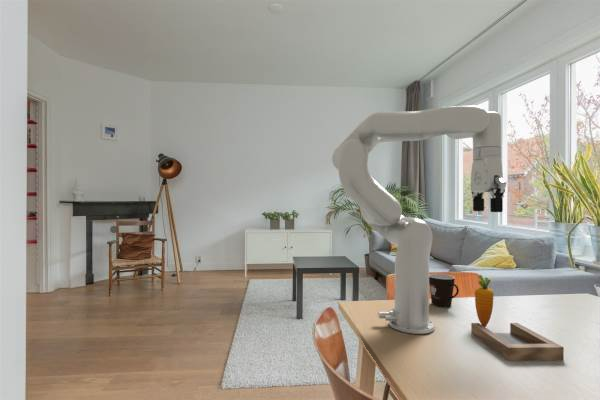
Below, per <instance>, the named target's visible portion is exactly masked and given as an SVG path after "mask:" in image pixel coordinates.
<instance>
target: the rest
mask: <svg viewBox="0 0 600 400" xmlns="http://www.w3.org/2000/svg"><path fill="white" fill-rule="evenodd" d="M470 324H471V325H470V327H471V329H470V330H471V331H470V332H471V333H470V334H471V335H472V336H473V337H475V338H476V339H477V340H479V341H480V342H481V343H483V344H484V345H486V346H487V347H489V348H490V349H491V350H493V352H496V353H497V354H498V355H500V356H501V357H502V358H504V359H505V360H507V361H508V362H511V361H512V362H515V361H516V362H520V361H522V362H523V361H526V362H527V361H530V362H531V361H532V362H533V361H564V359H565V358H564V354H565V353H564V346H562V345H560V344H558V343H556V342H555V341H553V340H550V339H549V338H547V337H545V336H543V335H541V334H539V333H537V332H535V331H534V330H532V329H530V328H528V327H526V326H524V325H522V324H521V323H518V322H510V323H509V324H510V327H509V328H510V329H509V330H510V331H509V332H493V331H492V330H490V329H489V328H487V327H484V326H482V325H481V323H480V322H471V323H470Z"/></svg>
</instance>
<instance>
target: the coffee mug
mask: <svg viewBox="0 0 600 400" xmlns="http://www.w3.org/2000/svg"><path fill="white" fill-rule="evenodd" d="M455 278H456V277H455V276H453V275H449V274H443V273H432V274H431V273H429V294H430V300H431V305H432V306H434V307H437V308H451V307H452V302H453V299H454V298H456V297H457V296H458V295H459V292H460V291H459V287H458V285H457V284H455V280H456V279H455ZM454 287H455V289H456V292H455V294H453V293H454Z"/></svg>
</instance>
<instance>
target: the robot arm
mask: <svg viewBox="0 0 600 400" xmlns="http://www.w3.org/2000/svg"><path fill="white" fill-rule="evenodd" d="M444 135H445V136H447V137H449V138H451V139H455V140H461V139H469V138H472V165H471V173H470V191H471V194H472V197H471V198H472V211H473V212H484V211H485V198H484V195H485V194H486V193H489V195H490V199H489V200H490V201H489V204H490V206H489V207H490V212H491V213H503V211H504V209H503V207H504V206H503V204H504V203H503V199H504V198H505V195H504V194H505V193H506V186H507V182H506V181H505V180H504V176H503V163H502V116H501V114H500V113H499V112H496V111H487V110H486V109H485V108H483V107H481V106H479V105H458V106H457V105H456V106H445V107H438V108H431V109H423V110H414V111H413V110H411V111H410V110H409V111H408V110H407V111H381V112H380V111H379V112H374V113H372V114H370V115H369V116H368V117H366V118H364V119H363V120H362V121H361V122H360V123H359V125H357V126H356V127H355V129H353V131H351V133H350V134H349V135H348V136H347V137H346V138H345V139H344V140H343V141H342V142H341V143H340V144H339V145H338V146H337V147H336V148H335V149H334V151H333V153H332V156H331V160H332V161H331V162H332V164H333V166H334V167H335V169H336V170H338V177H339V181H340V185H341V186H342V189H343V190H344V192H345V193H346V194H347V195H348V197H349V198H350V199H351V200H353V202H354V203H355V204H356V205H357V206H358V207H360V210H359V211H360V214H361V217H362V218H363V220H364V221H365V222H366V223H367V224H368V225H369V226H370V227H371V228H372V229H373V230H374V231H375V232H376V233H378V234H379V235H380V236H381V237H382V238H383V239H385V240H386V241H387V242H388V243H390V244H391V245H392V246H395V247H397V250H396V254H395V260H394V307H391V310H388V311H378V315H377V316H378V319H380V320H381V319H384V321H385V322H387V321H388V324H389V326H390V327H391V328H392V329H394V330H396V331H399V332H402V333H407V334H413V335H423V334H430V333H432V332H434V331H435V323H434V322H433V321H431V320H430V284H429V275H430V258H431V257H430V256H431V252H432V251H431V250H432V245H433V232H432V230H431V229H432V228H431V226H430V225H428V223H427V222H426V221H424V220H422V219H420V218H418V217H412V216H411V217H409V216H405V215H403V208H402V205H401V203H400V202H399V201H398V199H397V198H396V197H394V196H393V195H392V194H391V193H389V192H388V190H386V188H384V187H383V186H382V185H381V184H379V182H378V181H377V180H375V178H374V177H373V176H372V175H371V173H370V171H369V166H368V161H369V154H370V153H371V151H372V150H374V148H375V147H376V146H377V145H378V144H380V143H391V142H392V143H394V142H411V141H412V142H415V141H417V142H418V141H423V140H429V139H432V138H436V137H439V136H444Z"/></svg>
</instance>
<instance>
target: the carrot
mask: <svg viewBox="0 0 600 400" xmlns="http://www.w3.org/2000/svg"><path fill="white" fill-rule="evenodd" d="M478 277H479V280H478V281H477V283H478V284H479V285H480V286H481V287H477V288H476V289H475V291H474V301H475V309H476V316H477V318H478V321H479V324H481V325H482V326H484V327H485V328H487V326H488V323H490V320H491V317H492V313H493V309H494V308H493V307H494V291H493V289H491V288H488V286H489V284H490V282H491V280H492V279H491V278H488V277H487V276H485V277H483V274H478Z"/></svg>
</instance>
